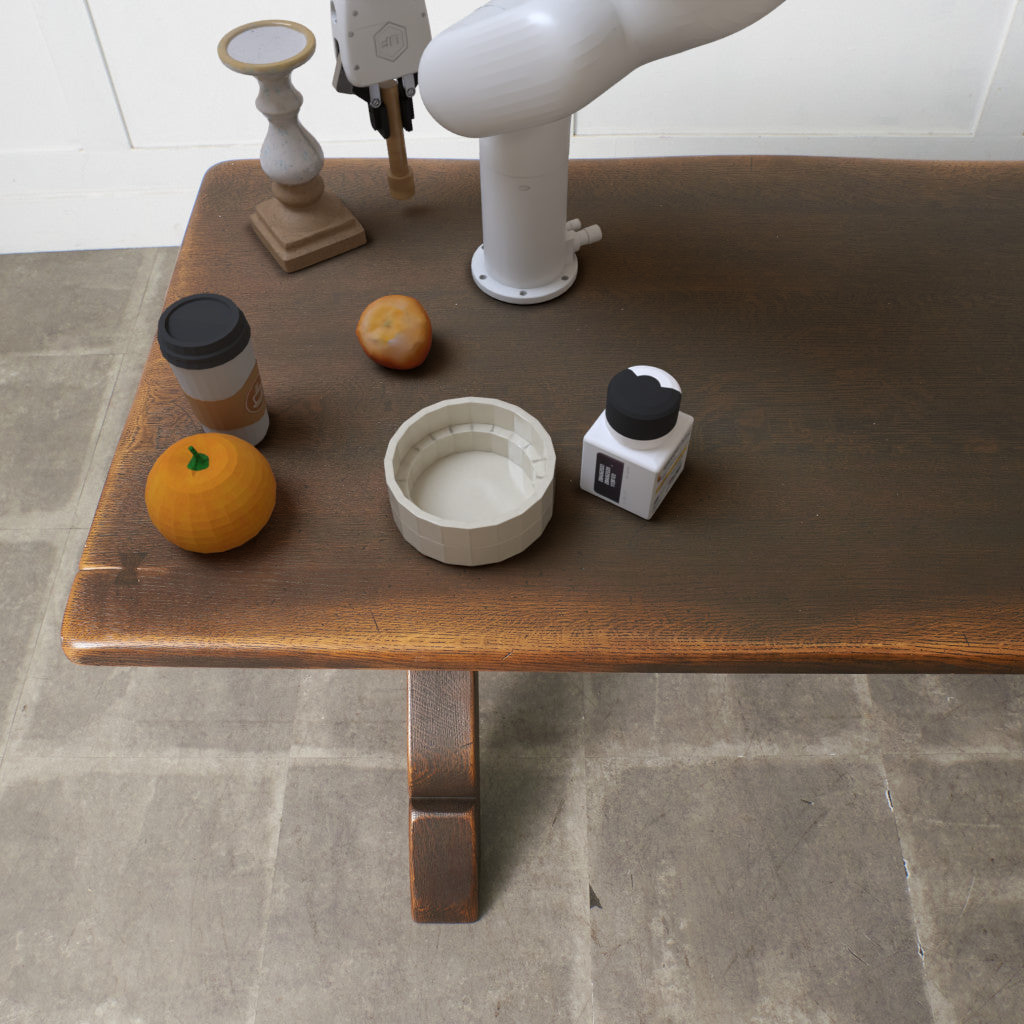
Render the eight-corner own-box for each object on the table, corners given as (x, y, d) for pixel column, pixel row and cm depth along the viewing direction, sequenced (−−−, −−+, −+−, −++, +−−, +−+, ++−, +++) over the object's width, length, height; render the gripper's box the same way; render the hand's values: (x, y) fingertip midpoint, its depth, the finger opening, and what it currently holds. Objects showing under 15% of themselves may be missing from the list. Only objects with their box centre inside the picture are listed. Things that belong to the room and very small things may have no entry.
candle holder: (286, 274, 111) (237, 80, 92) (250, 227, 117) (196, 35, 98) (368, 243, 115) (337, 49, 96) (329, 198, 120) (292, 7, 101)
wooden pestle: (409, 182, 117) (394, 73, 106) (419, 195, 116) (406, 86, 104) (385, 190, 116) (368, 81, 105) (396, 203, 115) (380, 93, 104)
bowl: (506, 420, 97) (505, 376, 92) (583, 527, 89) (587, 485, 83) (367, 477, 93) (358, 433, 87) (435, 595, 84) (429, 554, 79)
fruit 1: (135, 547, 88) (96, 481, 80) (202, 457, 94) (171, 387, 86) (245, 583, 85) (215, 518, 77) (305, 488, 92) (284, 419, 84)
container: (648, 522, 89) (665, 431, 78) (578, 489, 91) (585, 396, 81) (684, 468, 93) (704, 375, 82) (615, 438, 95) (626, 343, 85)
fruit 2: (452, 318, 104) (433, 293, 96) (432, 386, 103) (411, 366, 96) (385, 303, 106) (361, 278, 98) (365, 370, 105) (340, 349, 97)
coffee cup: (263, 466, 94) (224, 357, 82) (185, 454, 95) (135, 344, 83) (291, 406, 98) (258, 295, 86) (217, 395, 99) (174, 284, 87)
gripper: (309, -6, 91) (342, 165, 105) (457, -44, 95) (469, 125, 109) (283, -35, 95) (318, 134, 109) (426, -70, 99) (441, 96, 114)
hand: (393, 128), depth 109 cm, fingers closed on wooden pestle, 2 cm apart
